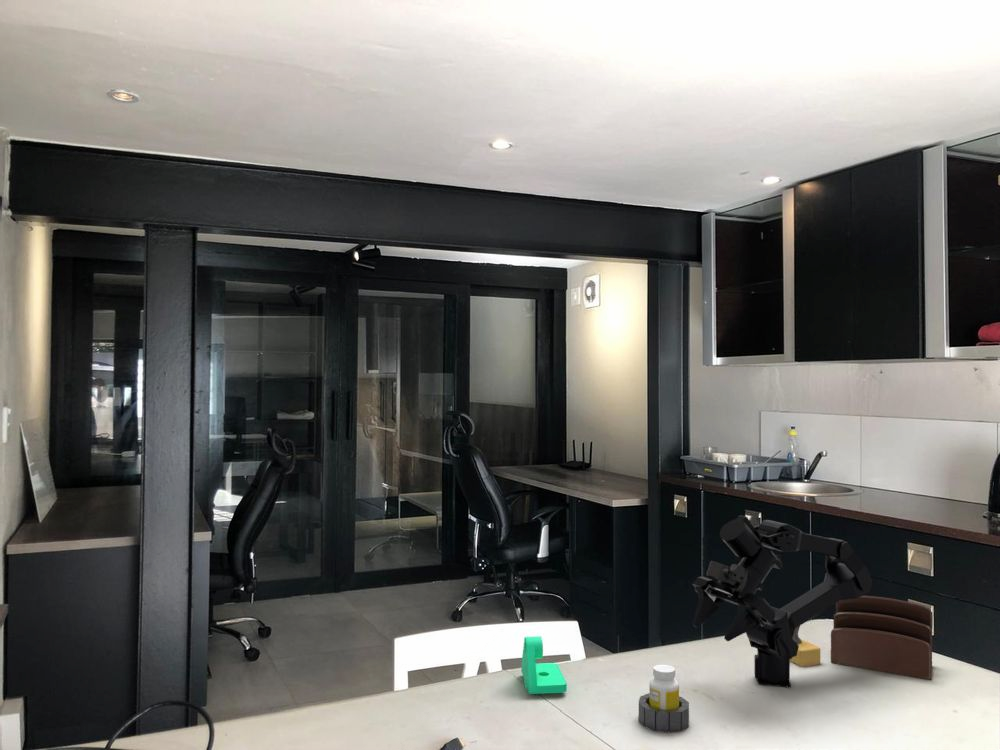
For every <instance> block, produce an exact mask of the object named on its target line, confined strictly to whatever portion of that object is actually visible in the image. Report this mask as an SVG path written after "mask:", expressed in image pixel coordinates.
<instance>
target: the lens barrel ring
mask: <svg viewBox="0 0 1000 750" xmlns="http://www.w3.org/2000/svg"><path fill="white" fill-rule="evenodd" d="M649 695H650V692H648V693H645V694H643V695H641V696H640V697H639V700H638V723H639V724H641V725H642V726H643V727H644V728H646V729H649V730H651V731H653V732H659V733H660V732H661V733H668V734H669V733H671V734H673V733H678V732H679V733H680V732H682V731H685V730H686V729H688V728H689V726H690V725H689V723H690V717H689V716H690V713H689V712H690V702H689V701H688V700H687V699H685V698H684V697H682V696H680V695H679V708H678V709H674V710H661V709H656V708H653V707H651V706H650V701H649V697H650V696H649Z"/></svg>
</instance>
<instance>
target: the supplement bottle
mask: <svg viewBox="0 0 1000 750" xmlns="http://www.w3.org/2000/svg"><path fill="white" fill-rule="evenodd" d="M652 668H653V669H652V670H653V671H652V674H653V677H652V678H650V680H649V684H648V685H649V690H648V691H649V692H648V693H650V695H649V696H650V697H649V701H650V706H651V707H653V708H656V709H661V710H674V709H678V708H679V696H680V684H679V682H678V681H677V679H676V669H675V667H674V666H671V665H669V664H668V665H667V664H656V665H654V666H653V667H652Z"/></svg>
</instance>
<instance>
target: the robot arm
mask: <svg viewBox="0 0 1000 750" xmlns="http://www.w3.org/2000/svg"><path fill="white" fill-rule="evenodd" d="M719 537H720V539H721V540H722V541H723V542H724V543H725V544H726V546H727V547H728V548H729V549H730V550H731V551H732V553H733V554H734V555H735V556H736V557H738V558H742V559H741V560H740V561H739V563H738V564H736V563H732V564H731V565H730V566H728V565H726V564H722V563H720V562H717V561H714V560H710V562H709V565H708V567H707V571H706V576H707V577H706V576H703V575H702V576H697V577H696V578H695V580H694V582H692V586H693V587H694V591H695V592H696V593H697V596H698V601H697V606H696V610H695V614H694V618H693V622H692V626H693V627H695V628H699V627H700V626H701V625H702V624H704V623H705V622H706V621H707V620H708V619H709V618H710V617H711V616H712V615H713V614H714V613H715V612H716V611H717V610H718V609H719V608H720V606H719V605H720V604H722V603H723V601H725V602H728V603H729V604H730V603H731V604H733V605H737V614H736V615H735V618H734V619H733V621H731V622H732V623H731V624H730V626H729V628H728V630H727V631H726V633H725V634H724V640H725V641H726V642H730V641H731V640H734V639H736V638H738V637H740V636H741V635H743V634H746V636H747V639H748V642H749V644H750V647H751V648H755V649H757V650H756V651H757V652H756V653H757V654H754V656H753V657H754V658H753V659H754V661H753V663H754V665H753V669H754V670H753V672H754V678H755V679H756V681H757V684H758V685H763V686H771V687H781V688H791V687H792V683H791V680H790V677H791V676H790V672H791V671H790V670H791V669H790V668H791V666H790V665H791V664H790V662H791V661H790V659H792V657H794V656H797V652H798V648H799V646H798V645H797V643H796V642H795V641H794V640H793V639H792V638H793V635H794V631H795V629H796V628H797V627H799V626H800V625H801V626H802V625H804V624H806V623H807V622H808V621H810V620H811V619H813V618H815V617H816V616H818V615H819V614H821V613H822V612H824V611H826V610H827V609H828V608H830V607H831V606H834V605H836V602H838V601H840V600H846V599H855V598H858V597H861V596H867V595H868V593H869V592H870V591H871V588H872V586H873V579H872V577H871V575H870V573H869V571H868V568H867V566H866V564H865V563H864V561H862V559H861V558H859V556H858V555H857V554H856V553H855V552H854V550H853V548H852V545H851V544H850V543H849V542H848V541H845V540H843V539H838V538H833V537H824V536H820V535H816V534H815V535H814V534H811V533H805V532H803V531H801V529H800V528H797V527H795V526H793V525H791V524H788V523H783V522H780V521H779V522H778V521H775V520H771V519H770V520H769V519H764V520H762V521H761V523H760V524H758V525H755V526H754V525H753V524H752V523H751V520H750V518H748V517H747V516H745V515H740V514H739V515H738V517H737V518H735V519H732V520H730V521H728V522H727V523H725V524H723V526H722V527H721V528H720V532H719ZM772 550H776V551H779V552H783V553H793V552H794V553H795V552H797V551H805V552H811V553H816V554H821V555H824V556H825V560H824V568H825V570H826V573H825V576H824V579H823V581H822V582H821V583H819V584H818V585H815V586H814V587H813V588H811V589H809V590H808V591H806V592H805V593H803V594H801V595H799V596H798V597H796V598H795V599H793V600H792V601H789V603H786V604H785V605H784V606H782V607H780V608H777V607H774V606H772V605H770V603H768V601H767V600H766V599H765V598H764V597H763V596H760V595H757V594H756V593H757V591H758V590H759V591H763V590H764V589H765V586H764V584H763V582H764V581H765V579H766V577H767V576H768V575H769V573H770V572H771V570H772V569H773V568H774V569H778V570H782V569H783V563H782V561H781V555H780V554H779V555H778V554H775V553H774V552H773V551H772ZM838 559H839V560H841V562H839V561H838ZM709 577H711V578H713V579H711V578H709ZM714 579H716V580H717V583H716V581H714ZM720 586H721V587H722V588H721V587H720ZM801 626H800V627H801Z"/></svg>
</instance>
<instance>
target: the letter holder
mask: <svg viewBox="0 0 1000 750" xmlns="http://www.w3.org/2000/svg"><path fill="white" fill-rule="evenodd" d="M830 663H831V664H838V665H843V666H848V667H852V668H853V667H854V668H860V669H865V670H870V671H871V670H872V671H878V672H883V673H888V674H894V675H900V676H906V677H910V678H911V677H913V678H916V679H923V680H928V681H932V671H933V612H932V609H930V608H929V607H928V606H926V605H923V604H918V603H914V602H911V601H906V600H900V599H896V598H890V597H882V596H874V595H873V596H872V595H863V596H861V597H858V598H855V599H846V600H840V601H838V602H836V603H835V613H834V614H833V628H832V630H831V632H830Z"/></svg>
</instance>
